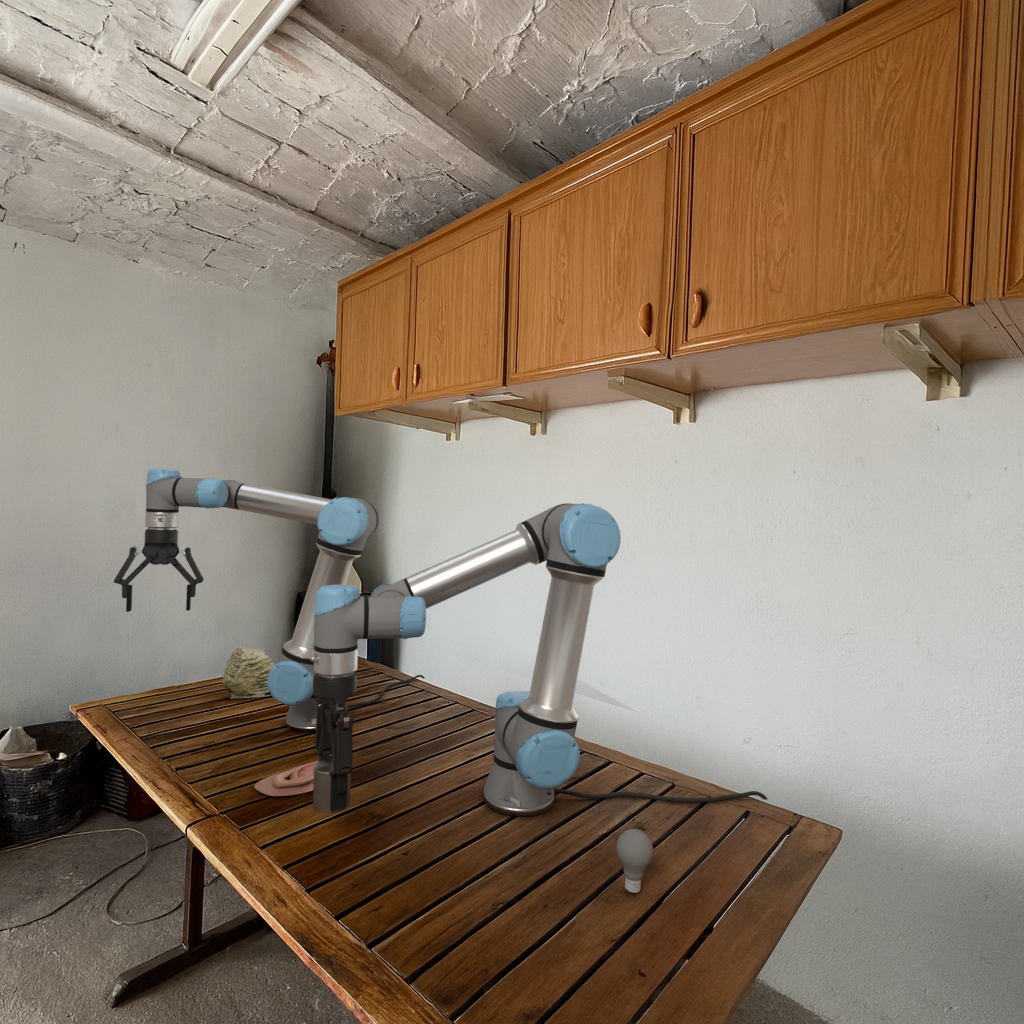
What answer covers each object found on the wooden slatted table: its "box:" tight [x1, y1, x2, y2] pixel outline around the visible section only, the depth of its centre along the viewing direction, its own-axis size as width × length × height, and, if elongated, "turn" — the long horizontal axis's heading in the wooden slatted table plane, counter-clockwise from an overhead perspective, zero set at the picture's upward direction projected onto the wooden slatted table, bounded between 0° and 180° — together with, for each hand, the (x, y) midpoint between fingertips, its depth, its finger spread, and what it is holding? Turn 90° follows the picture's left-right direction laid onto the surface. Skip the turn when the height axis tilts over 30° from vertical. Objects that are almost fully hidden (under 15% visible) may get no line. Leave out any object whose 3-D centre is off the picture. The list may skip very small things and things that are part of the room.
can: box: [312, 758, 352, 814], centre depth 113 cm, size 6×6×7 cm
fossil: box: [222, 646, 276, 699], centre depth 198 cm, size 9×18×15 cm, turn 132°
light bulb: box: [615, 828, 654, 894], centre depth 106 cm, size 6×6×10 cm
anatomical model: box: [253, 760, 319, 797], centre depth 138 cm, size 13×4×12 cm
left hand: (158, 610), depth 164 cm, fingers open, 13 cm apart
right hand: (331, 800), depth 113 cm, fingers closed on can, 6 cm apart
